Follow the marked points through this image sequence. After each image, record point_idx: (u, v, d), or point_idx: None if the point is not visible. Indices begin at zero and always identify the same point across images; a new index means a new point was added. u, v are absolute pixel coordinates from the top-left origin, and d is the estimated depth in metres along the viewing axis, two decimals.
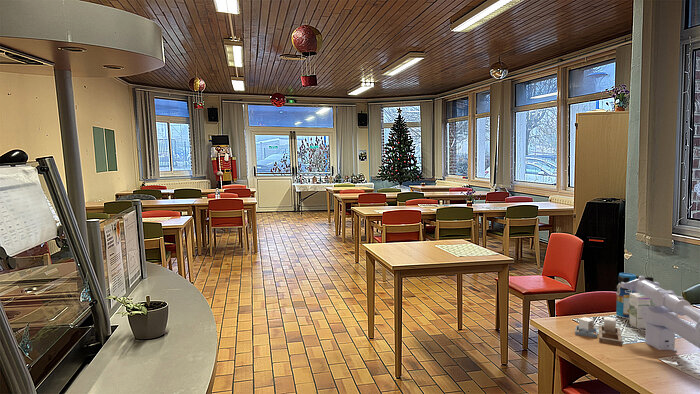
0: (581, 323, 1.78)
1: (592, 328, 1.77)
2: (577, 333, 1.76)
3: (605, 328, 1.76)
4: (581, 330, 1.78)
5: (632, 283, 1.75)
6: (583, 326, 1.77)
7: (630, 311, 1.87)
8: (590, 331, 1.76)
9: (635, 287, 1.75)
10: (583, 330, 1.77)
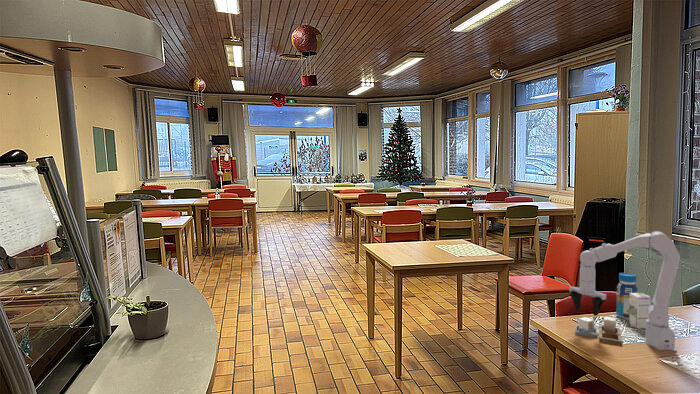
0: (581, 323, 1.78)
1: (592, 328, 1.77)
2: (577, 333, 1.76)
3: (605, 328, 1.76)
4: (581, 330, 1.78)
5: None
6: (583, 326, 1.77)
7: (630, 311, 1.87)
8: (590, 331, 1.76)
9: (594, 290, 1.75)
10: (583, 330, 1.77)
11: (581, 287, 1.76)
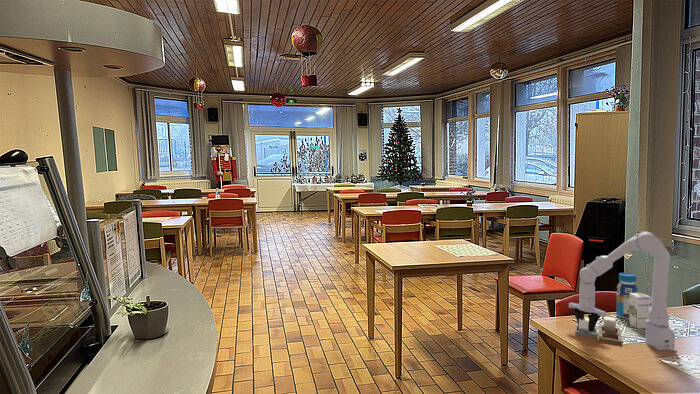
0: (581, 323, 1.78)
1: None
2: (577, 333, 1.76)
3: (605, 328, 1.76)
4: (581, 330, 1.78)
5: None
6: (583, 326, 1.77)
7: (630, 311, 1.87)
8: (590, 331, 1.76)
9: (594, 307, 1.75)
10: (583, 330, 1.77)
11: (581, 304, 1.77)
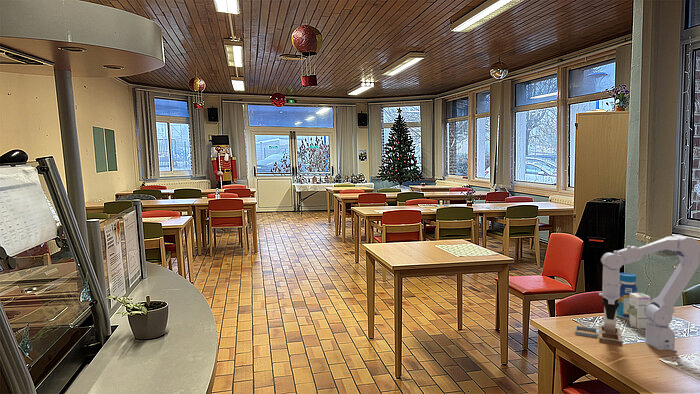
0: (604, 310, 1.72)
1: None
2: (577, 333, 1.76)
3: (605, 328, 1.76)
4: None
5: None
6: (604, 313, 1.71)
7: (630, 311, 1.87)
8: (609, 319, 1.68)
9: (612, 294, 1.67)
10: None
11: None
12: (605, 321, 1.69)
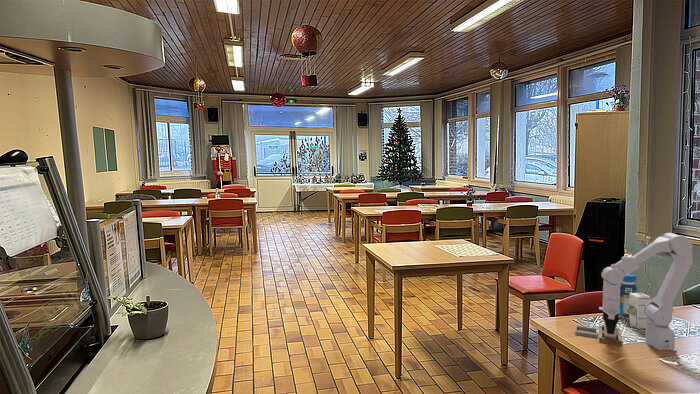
0: None
1: None
2: (577, 333, 1.76)
3: None
4: (604, 331, 1.72)
5: None
6: (604, 327, 1.71)
7: (630, 311, 1.87)
8: (609, 334, 1.68)
9: (612, 309, 1.67)
10: (604, 331, 1.71)
11: None
12: (605, 335, 1.69)
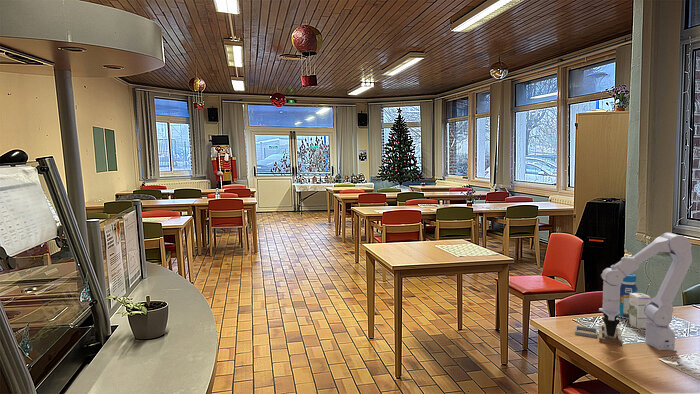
0: (604, 327, 1.72)
1: None
2: (577, 333, 1.76)
3: None
4: None
5: None
6: (604, 330, 1.71)
7: (630, 311, 1.87)
8: (609, 337, 1.69)
9: (612, 310, 1.67)
10: (604, 334, 1.71)
11: None
12: None
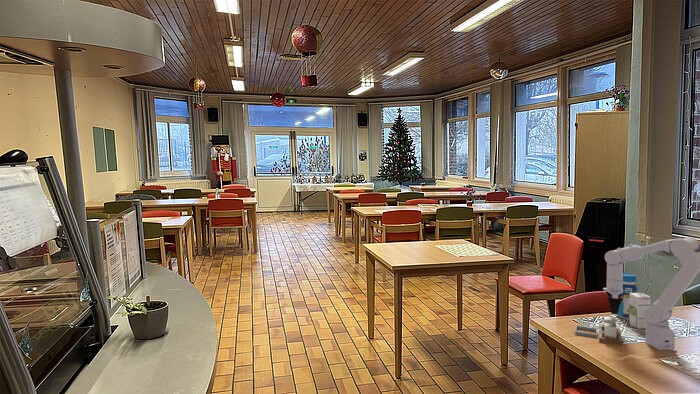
0: (604, 327, 1.72)
1: (613, 335, 1.68)
2: (577, 333, 1.76)
3: None
4: None
5: (612, 292, 1.76)
6: (604, 330, 1.71)
7: (630, 311, 1.87)
8: (609, 337, 1.69)
9: (616, 289, 1.76)
10: (604, 334, 1.71)
11: None
12: None
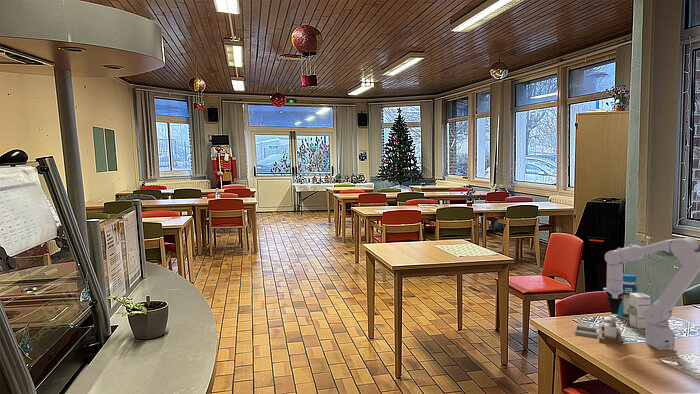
0: (604, 327, 1.72)
1: (613, 335, 1.68)
2: (577, 333, 1.76)
3: None
4: None
5: (612, 292, 1.76)
6: (604, 330, 1.71)
7: (630, 311, 1.87)
8: (609, 337, 1.69)
9: (616, 289, 1.76)
10: (604, 334, 1.71)
11: None
12: None
